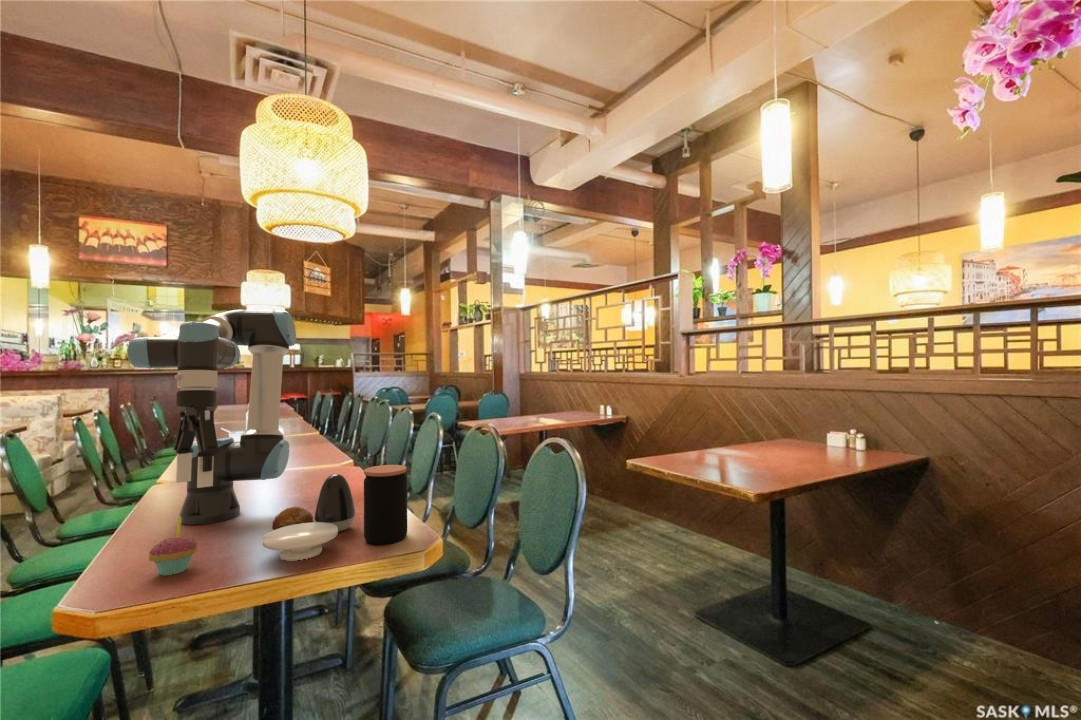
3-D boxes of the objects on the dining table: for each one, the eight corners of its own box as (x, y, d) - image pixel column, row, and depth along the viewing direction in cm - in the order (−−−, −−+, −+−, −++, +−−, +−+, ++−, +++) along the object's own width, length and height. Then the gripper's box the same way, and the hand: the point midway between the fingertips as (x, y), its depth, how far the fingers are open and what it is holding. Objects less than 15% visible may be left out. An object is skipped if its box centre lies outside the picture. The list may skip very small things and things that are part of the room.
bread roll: (316, 539, 137) (322, 510, 141) (296, 534, 128) (304, 503, 132) (283, 538, 138) (290, 509, 142) (261, 534, 129) (269, 503, 133)
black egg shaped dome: (354, 522, 141) (354, 468, 141) (356, 532, 131) (356, 475, 131) (315, 527, 137) (315, 472, 137) (314, 538, 127) (314, 479, 127)
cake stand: (253, 554, 116) (253, 533, 116) (322, 537, 127) (322, 518, 128) (275, 573, 105) (275, 550, 105) (349, 553, 116) (349, 532, 116)
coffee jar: (416, 536, 128) (415, 467, 128) (382, 549, 119) (382, 474, 119) (389, 529, 133) (388, 463, 134) (355, 541, 125) (354, 470, 125)
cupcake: (167, 564, 111) (167, 511, 111) (206, 562, 111) (206, 509, 112) (138, 580, 102) (138, 522, 103) (181, 578, 103) (181, 521, 103)
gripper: (159, 391, 117) (156, 482, 115) (197, 387, 101) (193, 491, 100) (196, 391, 123) (193, 477, 121) (237, 387, 107) (234, 486, 105)
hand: (193, 484), depth 110 cm, fingers open, 13 cm apart
